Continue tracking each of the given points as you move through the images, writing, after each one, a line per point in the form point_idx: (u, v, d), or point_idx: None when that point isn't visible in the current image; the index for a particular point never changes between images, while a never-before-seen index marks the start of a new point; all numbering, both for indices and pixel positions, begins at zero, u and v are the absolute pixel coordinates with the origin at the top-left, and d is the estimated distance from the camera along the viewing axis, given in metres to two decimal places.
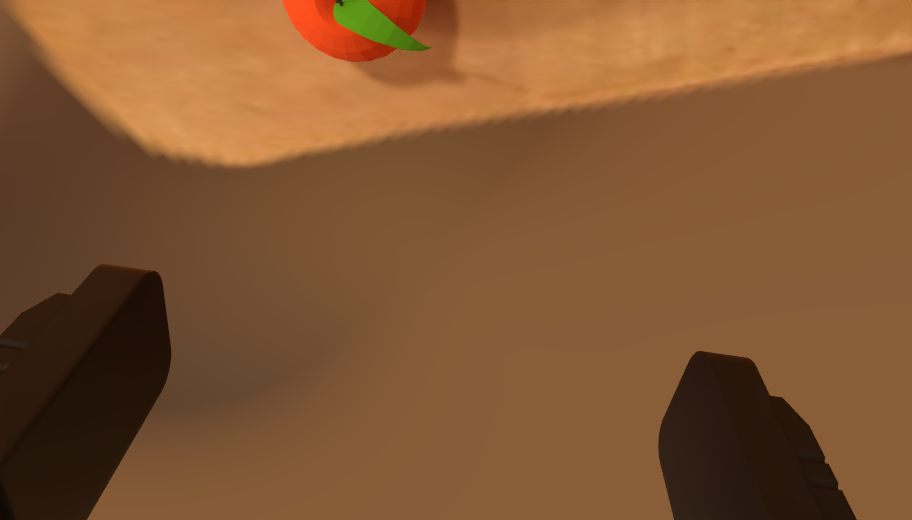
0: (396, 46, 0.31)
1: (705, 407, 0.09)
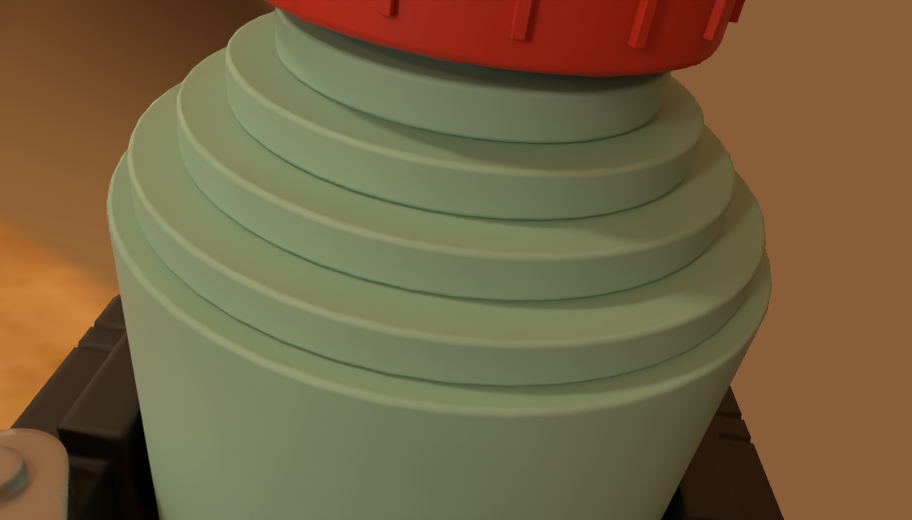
0: None
1: None
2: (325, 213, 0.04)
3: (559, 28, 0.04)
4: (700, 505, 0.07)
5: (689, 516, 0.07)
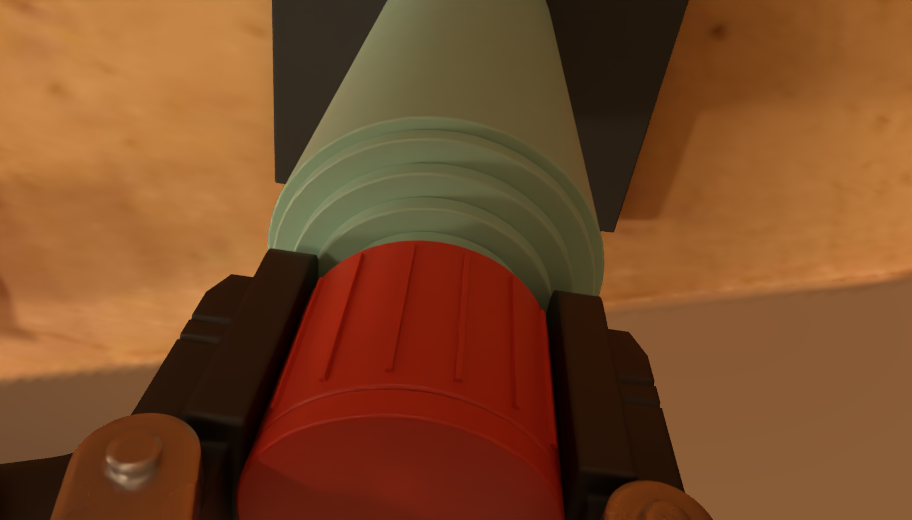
0: None
1: (553, 339, 0.10)
2: None
3: None
4: (594, 460, 0.08)
5: (581, 470, 0.07)
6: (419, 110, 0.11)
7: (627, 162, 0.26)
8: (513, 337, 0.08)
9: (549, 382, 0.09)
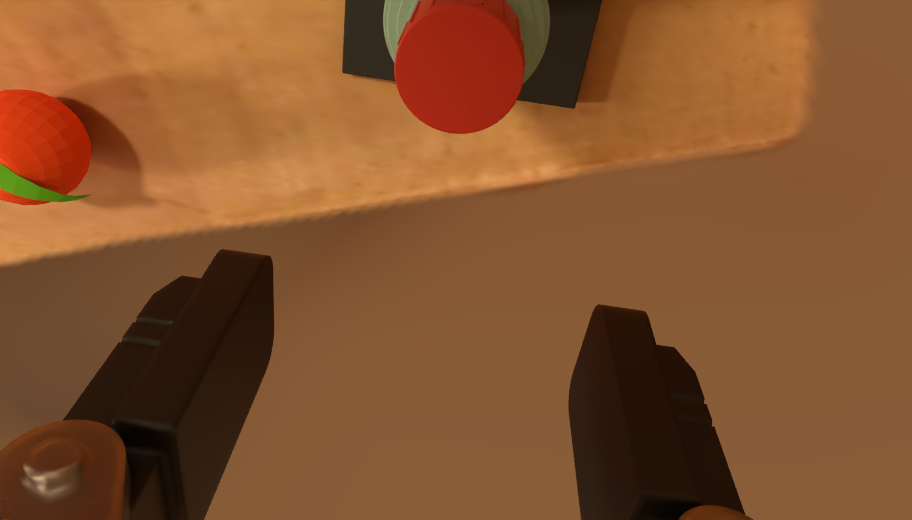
0: (48, 200, 0.39)
1: (599, 355, 0.10)
2: None
3: None
4: (655, 484, 0.07)
5: (643, 494, 0.07)
6: None
7: (582, 54, 0.38)
8: (415, 12, 0.21)
9: None
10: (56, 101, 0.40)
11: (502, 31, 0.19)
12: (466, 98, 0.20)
